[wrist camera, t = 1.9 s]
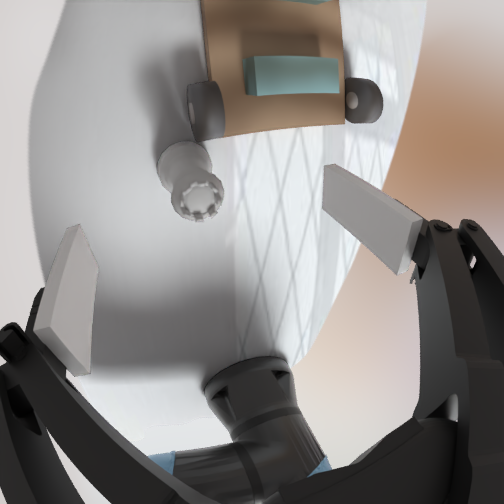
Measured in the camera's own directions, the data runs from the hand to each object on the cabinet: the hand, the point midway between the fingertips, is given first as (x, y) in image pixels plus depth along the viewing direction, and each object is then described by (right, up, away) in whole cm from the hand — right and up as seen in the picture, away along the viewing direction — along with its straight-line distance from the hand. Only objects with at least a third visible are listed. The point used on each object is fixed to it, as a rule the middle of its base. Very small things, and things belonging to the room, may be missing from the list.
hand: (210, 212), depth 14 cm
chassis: (+4, +16, +4) cm, 17 cm away
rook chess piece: (-4, +5, +8) cm, 10 cm away
